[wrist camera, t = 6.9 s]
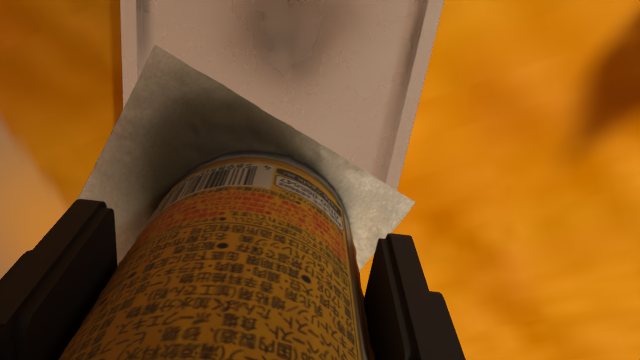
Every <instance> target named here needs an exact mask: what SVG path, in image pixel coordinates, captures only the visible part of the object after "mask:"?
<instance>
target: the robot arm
mask: <svg viewBox="0 0 640 360" xmlns="http://www.w3.org/2000/svg"><path fill="white" fill-rule="evenodd" d="M117 267H118V264H117V248H116V231H115V215H114V210H113V209H112V208H107V205H106V203H105V202H104V201H97V200H88V199H77V200H76V201H75V202H74V203H73V204H72V205H71V207H70V208H69V209H68V210H67V211H66V212H65V213H64V215H63V216H62V217H61V218H60V219H59V220H58V221H57V223H56V224H55V225H54V226H53V227H52V228H51V229H50V231H49V232H48V233H47V234H46V235H45V236H44V237H43V239H42V240H41V241H40V242H39V243H38V244H37V245H36V247H35V248H34V249H33V250H30V251H27V252H26V253H25V254H23V255H22V256H21V257H20V258H19V259H18V261H17V262H16V263H15V264H14V265H13V266H12V267H11V268H10V269H9V271H8V272H7V273H6V274H5V275H4V276H3V277H2V278H1V280H0V360H58V359H59V358H60V356H61V355H62V353H63V352H64V350H65V348H66V347H67V345H68V344H69V342H70V341H71V339H72V337H73V336H74V335H75V334H76V332H77V331H78V329H79V328H80V326H81V324H82V322H83V320H84V318H85V317H86V315H87V314H88V313H89V312H90V310H91V309H92V307H93V306H94V304H95V303H96V301H97V300H98V298H99V295H100V293H101V292H102V291H103V289H104V288H105V287H106V285H107V284H108V282H109V280H110V278H111V277H112V275H113V274H114V272H115V271H116V269H117ZM364 304H365V312H366V316H367V323H368V331H369V333H370V344H371V347H372V349H373V352H374V356H375V360H466V359H465V357H464V354H463V351H462V348H461V345H460V342H459V340H458V337H457V334H456V331H455V328H454V325H453V323H452V320H451V317H450V314H449V311H448V308H447V306H446V303H445V300H444V298H443V296H442V294H441V293H439V292H432V291H429V289H428V286H427V283H426V280H425V276H424V273H423V270H422V267H421V264H420V261H419V258H418V255H417V251H416V248H415V245H414V242H413V239H412V237H411V236H409V235H401V234H392V233H388V234H387V236H386V238H385V239H383V238H379V239H378V242H377V245H376V250H375V254H374V258H373V263H372V267H371V271H370V276H369V280H368V284H367V289H366V293H365V297H364Z"/></svg>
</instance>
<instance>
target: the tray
mask: <svg viewBox="0 0 640 360" xmlns="http://www.w3.org/2000/svg"><path fill="white" fill-rule="evenodd" d="M443 3H444V0H120V13H121V47H122V81H123V108H124V107H125V105H126V103H127V100H128V98H129V97H130V95H131V92H132V90H133V88H134V86H135V84H136V82H137V81H138V79H139V76H140V74H141V72H142V70H143V67H144V65H145V63H146V61H147V59H148V57H149V55H150V53H151V51H152V49H153V47H154V45H157V46H159V47H160V48H162V49H163V50H165V51H167V52H168V53H170V54H172V55H173V56H175V57H177V58H178V59H180V60H181V61H183V62H184V63H186V64H187V65H189V66H191V67H192V68H194V69H196V70H198V71H200V72H201V73H203V74H205V75H207V76H209V77H211V78H212V79H214V80H216V81H217V82H219V83H221V84H223V85H225V86H226V87H227V88H229V89H231V90H232V91H234V92H235V93H237V94H238V95H240V96H242V97H243V98H245V99H247V100H248V101H250V102H252V103H253V104H255V105H256V106H258V107H260V108H261V109H262V110H263V111H265V112H267V113H268V114H270V115H272V116H274V117H275V118H277V119H279V120H281V121H283V122H285V123H287V124H289V125H290V126H292V127H293V128H295V129H296V130H298V131H300V132H302V133H303V134H305V135H307V136H309V137H310V138H312V139H314V140H315V141H317V142H318V143H319V144H321V145H323V146H325V147H327V148H329V149H331V150H332V151H334V152H335V153H337V154H339V155H340V156H342V157H343V158H345V159H346V160H348V161H349V162H351V163H352V164H354V165H355V166H357V167H359V168H361V169H363V170H365V171H366V172H368V173H369V174H371V175H373V176H374V177H376V178H377V179H379V180H380V181H382V182H384V183H385V184H387V185H388V186H390V187H392V188H393V189H395V190H396V191H397V188H398V184H399V180H400V176H401V172H402V168H403V164H404V160H405V156H406V152H407V148H408V144H409V140H410V136H411V132H412V128H413V124H414V120H415V116H416V112H417V108H418V104H419V100H420V96H421V92H422V88H423V84H424V80H425V76H426V71H427V67H428V63H429V59H430V55H431V51H432V47H433V43H434V39H435V35H436V31H437V27H438V23H439V19H440V15H441V11H442V7H443Z"/></svg>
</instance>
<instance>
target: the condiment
mask: <svg viewBox="0 0 640 360" xmlns="http://www.w3.org/2000/svg"><path fill="white" fill-rule="evenodd" d="M78 199H88V200H97V201H104V202H105V203H106V205H107V208H112V209H113V210H114V215H115V231H116V248H117V264H118V267H117V269H116V271H115V272H114V274H113V275H112V277H111V278H110V280H109V282H108V284H107V285H106V287H105V288H104V289H103V291H102V292H101V293H100V295H99V298H98V300H97V301H96V303H95V304H94V306H93V307H92V309H91V310H90V312H89V313H88V314H87V315H86V317H85V318H84V320H83V322H82V324H81V326H80V328H79V329H78V331H77V332H76V334H75V335H74V336H73V337H72V339H71V341H70V342H69V344H68V345H67V347H66V348H65V350H64V352H63V353H62V355H61V356H60V358H59V359H58V360H375V356H374V352H373V349H372V347H371V344H370V333H369V331H368V323H367V316H366V312H365V304H364V295H363V293H362V289H361V283H360V272H359V271H360V270H361V269H362V267H363V266H364V265H365V263H366V262H367V261H368V260H369V259H370V257H371V256H372V255H373V254H374V253H375V250H376V245H377V242H378V239H379V238H383V239H385V238H386V236H387V234H388V233H392V231H393V230H394V229H395V228H396V227H397V226H398V224H399V223H400V222H401V221H402V219H403V218H404V217H405V215H406V214H407V213H408V212H409V210H410V209H411V208H412V206H413V205H414V204H415V202H414V201H413V200H411V199H409V198H408V197H406V196H404V195H403V194H401V193H400V192H398V191H396V190H395V189H393V188H392V187H390V186H388V185H387V184H385V183H384V182H382V181H380V180H379V179H377V178H376V177H374V176H373V175H371V174H369V173H368V172H366V171H365V170H363V169H361V168H359V167H357V166H355V165H354V164H352V163H351V162H349V161H348V160H346V159H345V158H343V157H342V156H340V155H339V154H337V153H335V152H334V151H332V150H331V149H329V148H327V147H325V146H323V145H321V144H319V143H318V142H317V141H315V140H314V139H312V138H310V137H309V136H307V135H305V134H303V133H302V132H300V131H298V130H296V129H295V128H293V127H292V126H290V125H289V124H287V123H285V122H283V121H281V120H279V119H277V118H275V117H274V116H272V115H270V114H268V113H267V112H265V111H263V110H262V109H261V108H260V107H258V106H256V105H255V104H253V103H252V102H250V101H248V100H247V99H245V98H243V97H242V96H240V95H238V94H237V93H235V92H234V91H232V90H231V89H229V88H227V87H226V86H225V85H223V84H221V83H219V82H217V81H216V80H214V79H212V78H211V77H209V76H207V75H205V74H203V73H201V72H200V71H198V70H196V69H194V68H192V67H191V66H189V65H187V64H186V63H184V62H183V61H181V60H180V59H178V58H177V57H175V56H173V55H172V54H170V53H168V52H167V51H165V50H163V49H162V48H160V47H159V46H157V45H154V47H153V49H152V51H151V53H150V55H149V57H148V59H147V61H146V63H145V65H144V67H143V70H142V72H141V74H140V76H139V79H138V81H137V82H136V84H135V86H134V88H133V90H132V92H131V95H130V97H129V98H128V100H127V103H126V105H125V107H124V108H123V110H122V112H121V115H120V117H119V119H118V120H117V122H116V124H115V127H114V129H113V131H112V133H111V135H110V137H109V139H108V141H107V143H106V145H105V147H104V149H103V150H102V152H101V154H100V156H99V158H98V160H97V162H96V164H95V167H94V170H93V171H92V173H91V175H90V176H89V178H88V180H87V182H86V184H85V186H84V188H83V190H82V192H81V194H80V195H79V197H78Z"/></svg>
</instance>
